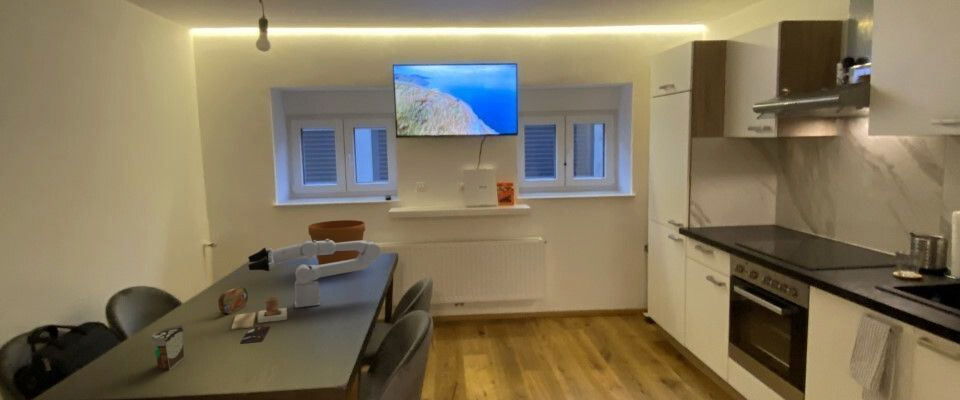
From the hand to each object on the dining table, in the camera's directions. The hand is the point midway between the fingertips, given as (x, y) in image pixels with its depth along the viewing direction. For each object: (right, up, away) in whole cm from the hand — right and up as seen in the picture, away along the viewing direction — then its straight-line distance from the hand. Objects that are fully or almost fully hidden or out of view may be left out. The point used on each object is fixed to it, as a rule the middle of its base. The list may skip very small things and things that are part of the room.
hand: (248, 263), depth 210 cm
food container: (-4, -25, -47) cm, 54 cm away
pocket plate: (+12, -20, -6) cm, 24 cm away
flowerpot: (+18, -11, +67) cm, 71 cm away
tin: (-8, -19, +4) cm, 21 cm away
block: (+12, -20, -6) cm, 24 cm away
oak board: (+3, -20, -10) cm, 23 cm away
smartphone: (+13, -22, -25) cm, 36 cm away
